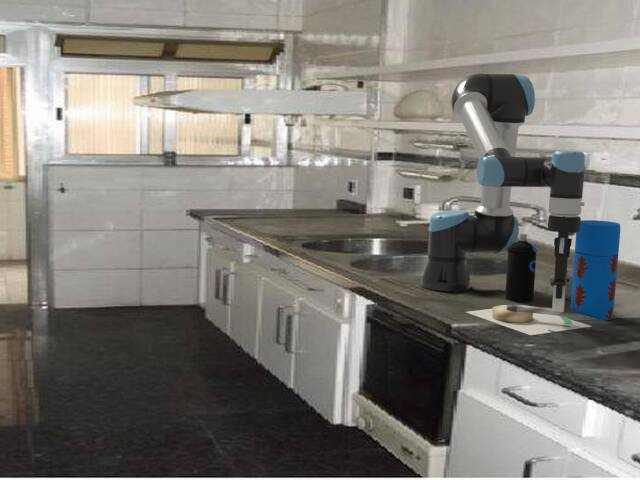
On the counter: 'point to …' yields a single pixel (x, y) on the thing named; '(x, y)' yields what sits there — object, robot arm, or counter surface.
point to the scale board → (534, 323)
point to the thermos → (595, 269)
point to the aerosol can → (521, 271)
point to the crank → (522, 311)
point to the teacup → (569, 284)
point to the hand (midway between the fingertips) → (558, 309)
